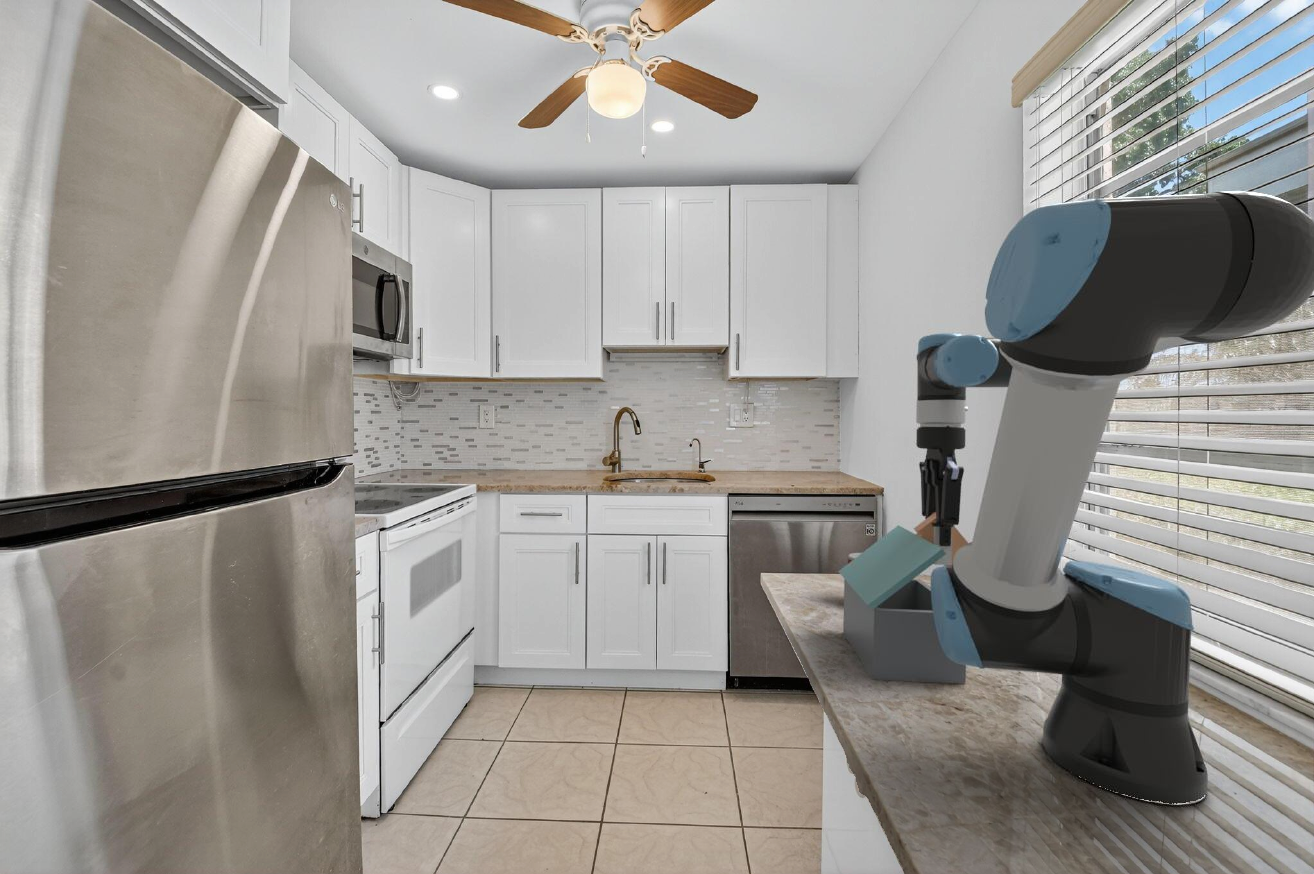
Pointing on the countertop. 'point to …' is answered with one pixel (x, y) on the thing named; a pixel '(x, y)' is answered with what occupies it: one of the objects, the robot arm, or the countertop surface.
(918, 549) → the lid
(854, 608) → the tub
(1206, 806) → the countertop surface
